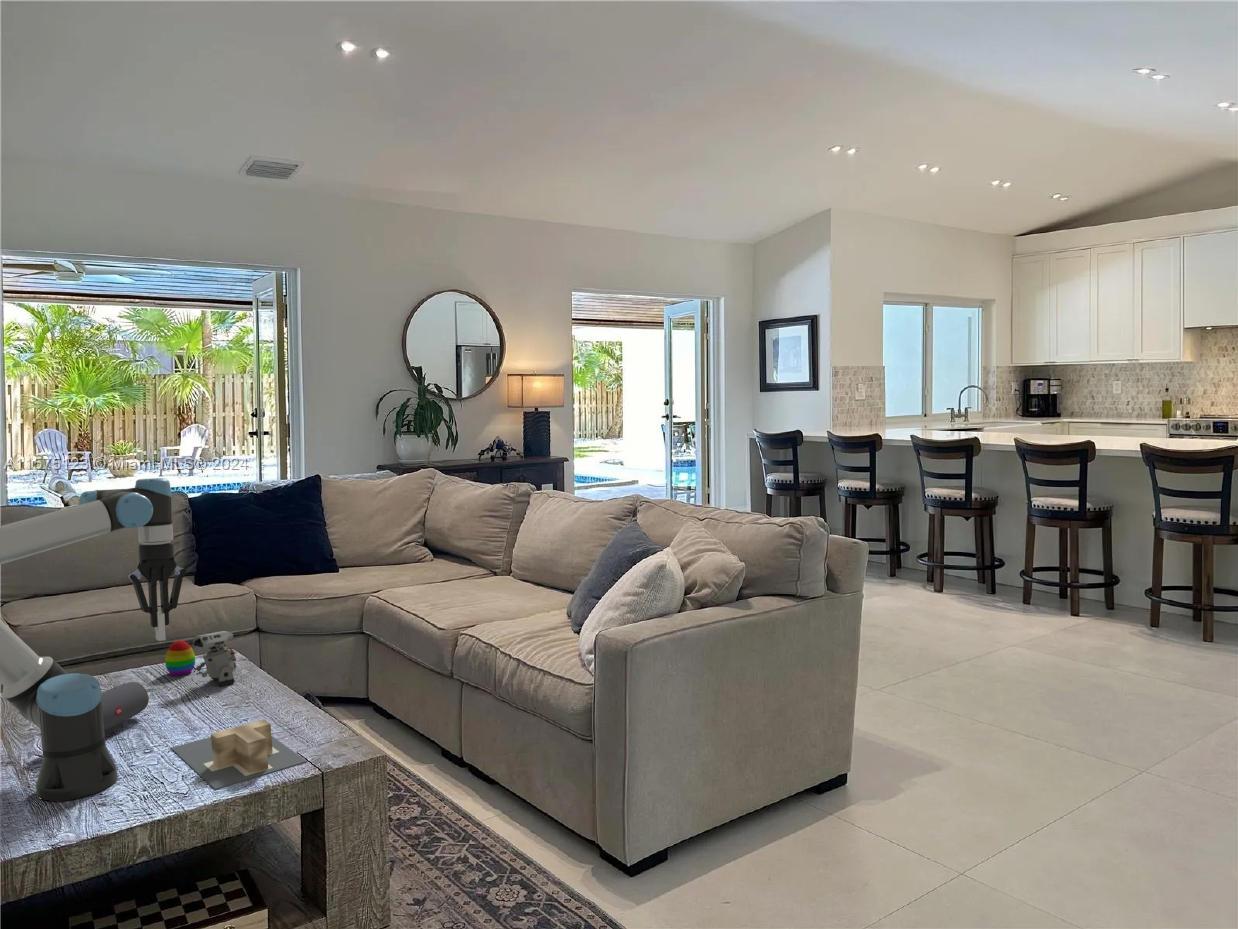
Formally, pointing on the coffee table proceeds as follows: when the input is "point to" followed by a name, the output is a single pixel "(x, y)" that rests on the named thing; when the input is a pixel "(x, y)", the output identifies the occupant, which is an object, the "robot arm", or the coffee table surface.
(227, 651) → the figurine
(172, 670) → the decorative egg
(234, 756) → the t block
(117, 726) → the bluetooth speaker
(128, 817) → the coffee table surface
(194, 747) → the mat
